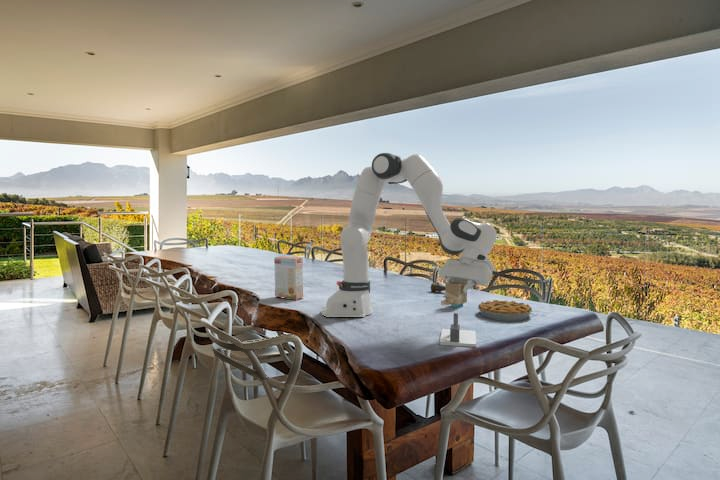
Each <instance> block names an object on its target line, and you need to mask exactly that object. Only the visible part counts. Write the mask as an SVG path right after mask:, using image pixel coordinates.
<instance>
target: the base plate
mask: <svg viewBox="0 0 720 480" xmlns="http://www.w3.org/2000/svg"><path fill="white" fill-rule="evenodd" d="M440 333H441V334H440V337H439V345H441V346H454V347H468V348H469V347H470V348H477V337H476V335H477V333H476V330H469V329H468V330H466V329H460V330H459V342H450V329H449V328H447V329H446V328H442V329H441V332H440Z"/></svg>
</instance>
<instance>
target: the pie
mask: <svg viewBox="0 0 720 480" xmlns="http://www.w3.org/2000/svg"><path fill="white" fill-rule="evenodd" d="M477 309H478V310H479V311H480V314H481V316H483V317H485V318H488V319H492V320H498V321H505V322H515V321H523V320H526V319H527V318H529V316H530V314H531V313H532V312H533V309H532V307H531V306H530V305H529V304H525V303H524V302H520V303H519V302H516V301H507V300H497V299H495V300H492V301H490V300H486V301H485V302H484V301H481V302H480V303H479V304H478V306H477Z"/></svg>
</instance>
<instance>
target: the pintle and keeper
mask: <svg viewBox="0 0 720 480" xmlns="http://www.w3.org/2000/svg"><path fill="white" fill-rule="evenodd" d="M452 322H453V324H452V323H451V324H450V342H459V330H461V329H460V327H461V325H460V324H459V313H458V312H457V313H456V312H454V313H453V321H452Z"/></svg>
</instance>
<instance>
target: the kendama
mask: <svg viewBox="0 0 720 480" xmlns="http://www.w3.org/2000/svg"><path fill="white" fill-rule="evenodd" d="M445 286H446V285H443V284H442V283H439V284H437V283H435V282H432V283H431V284H430V291H431V292H432V293H433V292H438V293H441V292H443V291H444V292H446V288H445Z"/></svg>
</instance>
